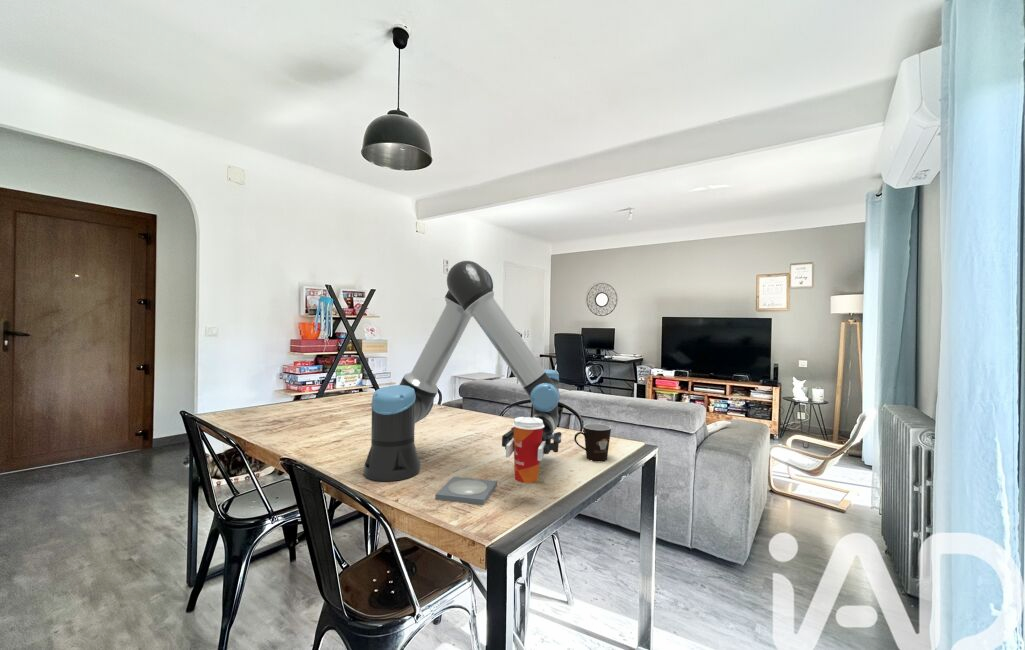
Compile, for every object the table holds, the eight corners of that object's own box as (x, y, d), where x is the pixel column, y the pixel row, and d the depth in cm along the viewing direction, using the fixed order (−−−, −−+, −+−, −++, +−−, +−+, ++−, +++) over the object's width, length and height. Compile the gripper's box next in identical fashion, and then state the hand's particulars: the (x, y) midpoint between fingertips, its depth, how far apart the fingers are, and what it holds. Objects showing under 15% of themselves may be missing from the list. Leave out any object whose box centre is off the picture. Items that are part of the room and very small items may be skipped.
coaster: (435, 499, 99) (435, 493, 99) (453, 481, 110) (453, 476, 110) (483, 505, 96) (483, 499, 96) (497, 485, 108) (497, 480, 108)
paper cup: (510, 472, 103) (512, 415, 103) (541, 473, 103) (543, 416, 103) (509, 484, 95) (511, 422, 95) (543, 485, 95) (545, 424, 95)
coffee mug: (608, 454, 136) (609, 424, 136) (612, 463, 127) (612, 430, 127) (572, 453, 137) (573, 422, 137) (574, 461, 128) (574, 429, 128)
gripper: (574, 446, 114) (566, 474, 92) (505, 439, 119) (481, 464, 96) (575, 418, 114) (567, 440, 92) (506, 412, 119) (482, 432, 96)
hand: (523, 453), depth 94 cm, fingers closed on paper cup, 7 cm apart
